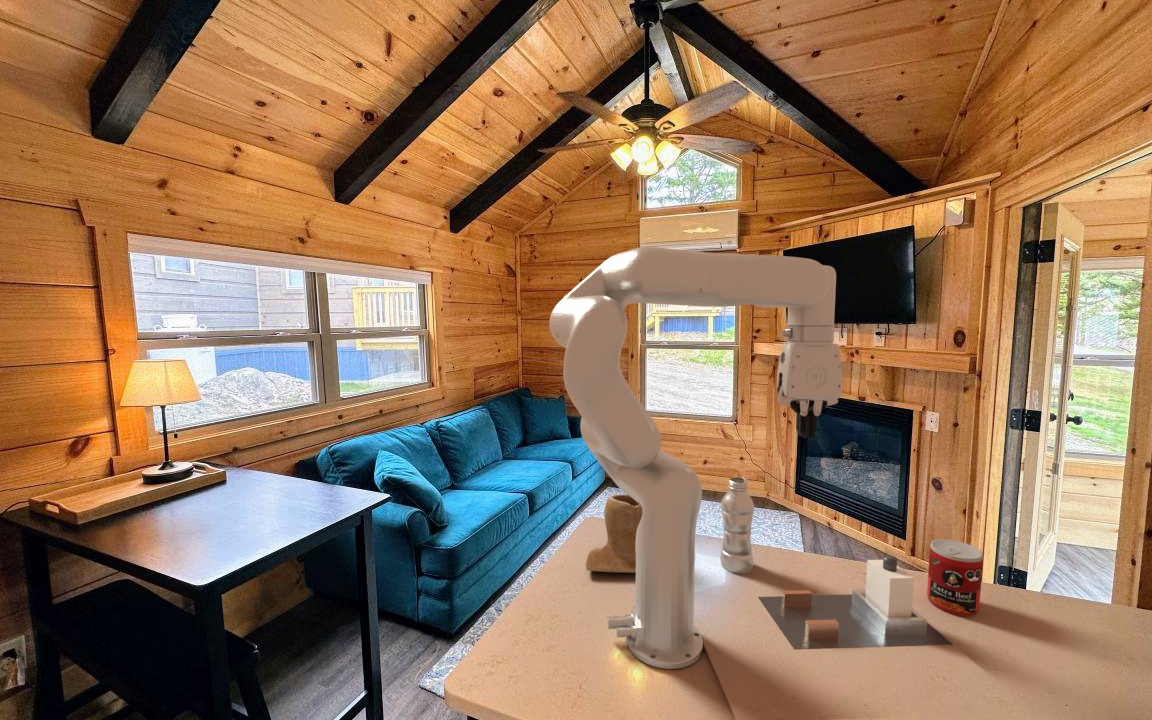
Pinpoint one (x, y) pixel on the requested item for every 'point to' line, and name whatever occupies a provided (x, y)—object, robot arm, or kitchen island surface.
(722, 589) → the kitchen island surface
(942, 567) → the canned food
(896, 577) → the plug
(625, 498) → the tan suede boot
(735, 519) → the plastic bottle
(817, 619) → the panel
